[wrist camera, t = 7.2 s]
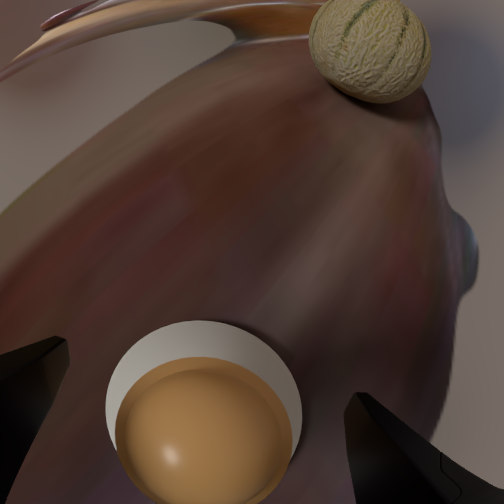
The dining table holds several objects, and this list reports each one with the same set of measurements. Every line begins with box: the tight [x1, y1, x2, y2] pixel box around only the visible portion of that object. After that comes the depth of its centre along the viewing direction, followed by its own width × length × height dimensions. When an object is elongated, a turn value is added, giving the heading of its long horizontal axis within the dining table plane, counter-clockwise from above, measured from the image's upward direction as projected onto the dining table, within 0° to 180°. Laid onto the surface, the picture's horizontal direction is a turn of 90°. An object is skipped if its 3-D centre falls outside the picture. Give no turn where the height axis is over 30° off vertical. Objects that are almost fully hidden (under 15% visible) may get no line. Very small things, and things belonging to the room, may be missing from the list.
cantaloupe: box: [309, 0, 431, 103], centre depth 27 cm, size 15×15×15 cm
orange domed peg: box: [115, 357, 293, 504], centre depth 9 cm, size 5×5×12 cm
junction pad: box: [106, 321, 302, 459], centre depth 15 cm, size 11×11×1 cm
